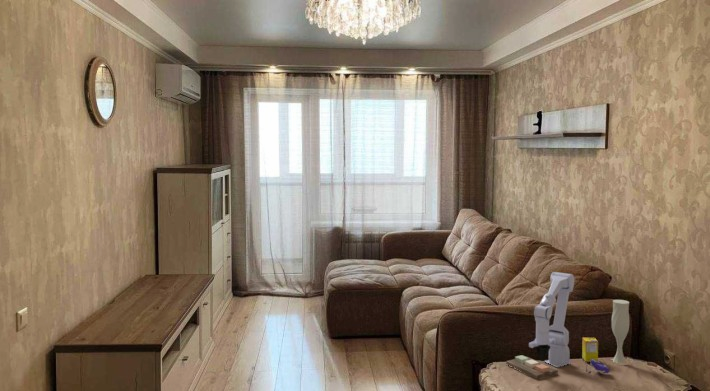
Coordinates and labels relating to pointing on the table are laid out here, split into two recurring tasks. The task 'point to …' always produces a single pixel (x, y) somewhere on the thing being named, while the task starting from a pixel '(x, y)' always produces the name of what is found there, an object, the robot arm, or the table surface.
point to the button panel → (532, 369)
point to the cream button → (531, 363)
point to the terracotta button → (541, 368)
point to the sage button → (521, 359)
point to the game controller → (599, 366)
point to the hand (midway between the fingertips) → (541, 360)
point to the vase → (620, 326)
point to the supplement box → (589, 349)
